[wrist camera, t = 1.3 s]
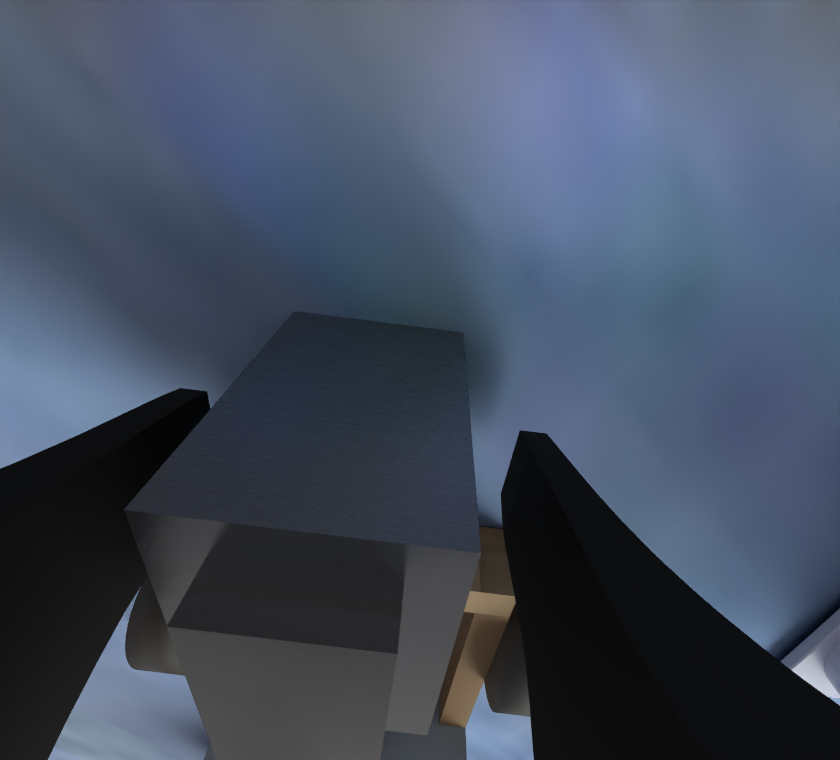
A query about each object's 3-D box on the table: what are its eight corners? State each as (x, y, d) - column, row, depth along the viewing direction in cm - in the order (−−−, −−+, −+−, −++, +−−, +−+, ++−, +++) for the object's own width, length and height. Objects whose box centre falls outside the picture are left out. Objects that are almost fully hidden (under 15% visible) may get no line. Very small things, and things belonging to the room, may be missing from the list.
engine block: (463, 332, 10) (487, 625, 4) (435, 484, 12) (425, 799, 6) (294, 311, 10) (66, 576, 4) (302, 468, 12) (172, 769, 6)
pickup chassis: (566, 537, 13) (609, 680, 10) (452, 792, 25) (453, 894, 22) (164, 487, 13) (62, 614, 10) (245, 767, 25) (213, 867, 22)
